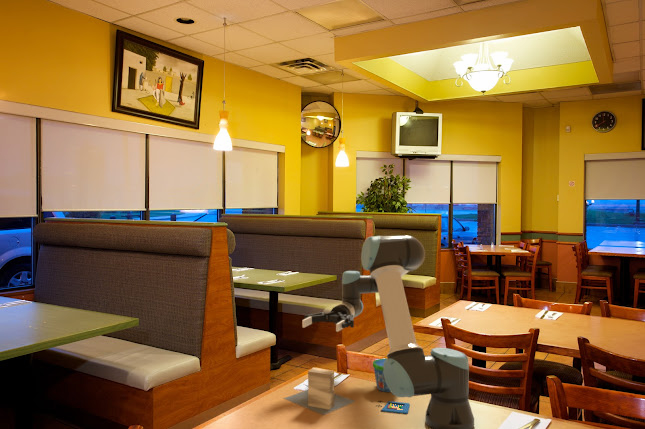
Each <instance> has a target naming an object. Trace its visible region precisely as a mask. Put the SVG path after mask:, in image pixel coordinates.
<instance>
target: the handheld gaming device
mask: <svg viewBox="0 0 645 429" xmlns="http://www.w3.org/2000/svg"><path fill="white" fill-rule="evenodd" d="M371 403H373V401H372V400H371ZM377 403H383V401H382V400H377ZM393 404H394V406H395V407H396V406H397V407H398V405H399V408H400V409H403V410H397V408H392V407H391V406H393ZM395 404H396V405H395ZM400 405H401V406H400ZM402 405H403V406H402ZM410 405H411V404H410V403H409V402H401V401H390V400H389V401H387V403H384V406H382V405H380V404H378V405H375V407H377V408H381V410H380V412H384V413H391V412H393V414H400V413H403V414H404V415H408V414H409V411H410ZM403 414H402V415H403Z"/></svg>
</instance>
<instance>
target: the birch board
mask: <svg viewBox="0 0 645 429" xmlns="http://www.w3.org/2000/svg"><path fill="white" fill-rule="evenodd" d="M307 373H308V374H307V376H308V378H307V382H308V384H307V387H308V388H307V390H308V406H313V407H318V408H323V409H329V410H330V409H331V408H332V407H333V406H334V393H335V370H331V369H326V368H325V369H324V368H318V367H312V368H311V369H309V370H308V371H307Z"/></svg>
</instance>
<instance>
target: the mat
mask: <svg viewBox="0 0 645 429" xmlns="http://www.w3.org/2000/svg"><path fill="white" fill-rule="evenodd" d="M283 399H285V400H287V401H289V402H291V403H293V404H296V405H298V406H301V407H303V408H305V409H308V410H310V411H313V412H315V413H317V414H319V415H321V416H325V415H327V414H330V413H331V412H332V413H333V412H334V411H337V410H338V409H341V408H344V407H346V406H347V405H350V404H353V403H355V402H356V400H354V399H351V398H348V397H345V396H343V395H340V394H337V393H335V392H334V406H333V407H332V408H331V409H330V410H329V409H323V408H318V407H313V406H308V389H305V390H302V391H300V392H296V393H295V394H292V395H289V396H287V397H284V398H283Z"/></svg>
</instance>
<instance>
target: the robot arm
mask: <svg viewBox="0 0 645 429" xmlns="http://www.w3.org/2000/svg"><path fill="white" fill-rule="evenodd" d="M360 256H361V257H360V258H361V265H362V266H361V267H362V268H363V270H365V271H369V273H370V275H368V274H365V275H364V274H363V275H361V272H360V271H358V270H346V271H344V272H343V273H342V277H341V278H342V279H341V289H342V290H341V292H342V294H341V295H342V296H341V301H342V302H341V303H339V304H337V305H336V306H333V308H332V309H331V310H330V312H325V311H323V310H322V311H320V312H315V313H310V314H305V315H304V319H302V322H301V324H302V327H301V328H303V329H304V328H306V327H309V326H310V325H312V324H313V323H320V322H323V323H324V322H325V323H334V324H335V332H337V333H338V332H340V331H343V329H346V328H349V327H350V328H354V327H355V323H354V318H357V317H358V316H360V314H361V313H362V312H363V309H364V303H363V301H362V300H361V295H362V294H377V293H378V296H379V300H380V305H381V306H380V307H381V310H382V315H383V320H384V326H385V329H386V334H387V339H388V344H389V345H388V346H389V351H388V352H387V354H386V359H387V360H385V362H384V364H383V369H384V370H383V373H384V378H385V381H386V384H387V386H388V388H389V390H390V391H391V392H390V393H391V394H392V395H394V396H395V397H397V398H412V397H417V396H426V395H430V400H429V402H428V405H427V408H426V410H425V421H424V422H425V423H426V425H427V426H428V427H429V428H431V429H473V428H475V417H474V414H473V410H472V407H471V405H470V401H469V380H470V379H469V374H470V373H469V372H470V366H469V364H470V363H469V358H468V356H467V355H466V354H465V353H464V352H461V351H459V350H455V349H452V348H447V347H434V348H432V349H431V350H430V352H429V353H430V354H427V355H426V354H425V352H424V349H423V347H422V346H421V345H419V344H418V343H417V340H416V334H415V331H414V327H413V322H412V318H411V313H410V310H409V309H410V308H409V305H408V302H407V300H408V299H407V296H406V292H405V288H404V283H403V277H404V276H405V275H406V274H408V273H409V272H413V271H416V270H417V269H418V268H419V267H421V266H422V265H423V264H424V261H425V258H426V249H425V248H424V245H423V244H422V242H421V241H419V239H418V238H415V237H414V236H412V235H405V234H404V235H403V234H402V235H376V236H375V235H374V236H368V237H366V239H365V240H364V242H363V245H362V249H361V254H360Z"/></svg>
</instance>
